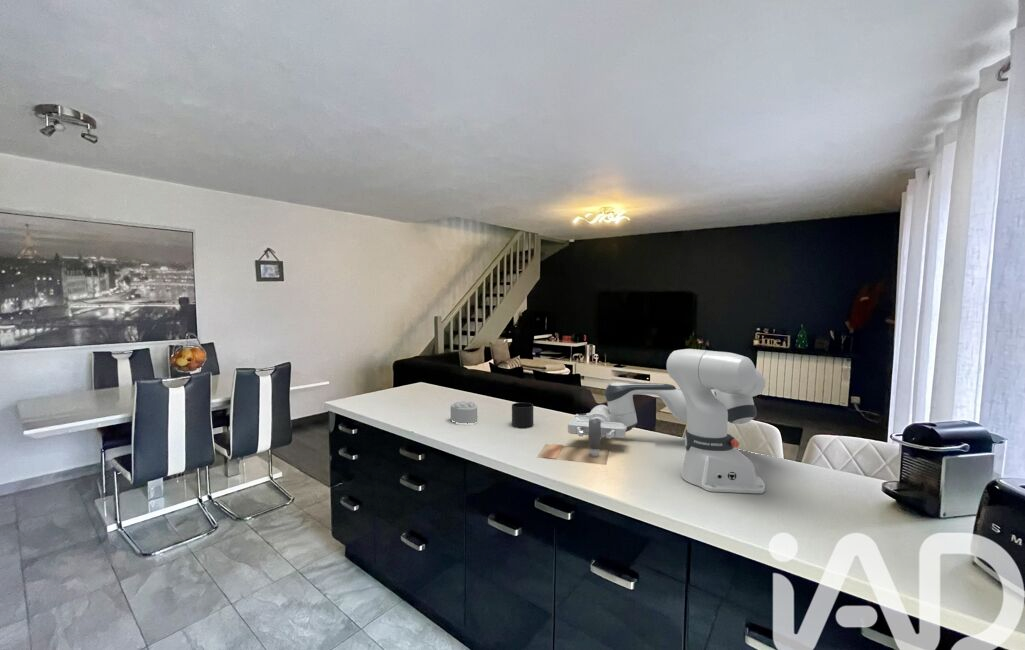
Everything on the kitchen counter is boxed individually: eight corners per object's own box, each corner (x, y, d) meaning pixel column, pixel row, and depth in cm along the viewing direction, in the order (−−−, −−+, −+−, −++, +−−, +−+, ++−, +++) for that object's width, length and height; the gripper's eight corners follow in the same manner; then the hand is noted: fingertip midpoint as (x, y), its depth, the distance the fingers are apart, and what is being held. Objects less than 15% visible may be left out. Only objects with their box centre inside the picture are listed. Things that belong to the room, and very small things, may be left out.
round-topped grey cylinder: (601, 454, 146) (601, 419, 145) (599, 458, 142) (600, 422, 141) (589, 453, 147) (589, 418, 146) (587, 457, 143) (588, 421, 143)
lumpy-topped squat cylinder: (466, 416, 201) (466, 398, 200) (482, 422, 191) (482, 403, 190) (447, 420, 194) (447, 401, 194) (463, 427, 184) (463, 407, 184)
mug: (541, 423, 189) (541, 403, 188) (524, 429, 179) (524, 408, 179) (524, 419, 195) (524, 400, 194) (507, 425, 185) (507, 405, 185)
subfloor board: (609, 454, 150) (609, 449, 150) (606, 469, 137) (606, 463, 137) (545, 448, 157) (545, 443, 157) (536, 461, 143) (536, 456, 143)
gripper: (627, 434, 156) (625, 447, 142) (571, 430, 162) (565, 441, 148) (627, 417, 155) (626, 428, 142) (571, 413, 161) (565, 423, 148)
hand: (594, 435), depth 145 cm, fingers open, 8 cm apart
